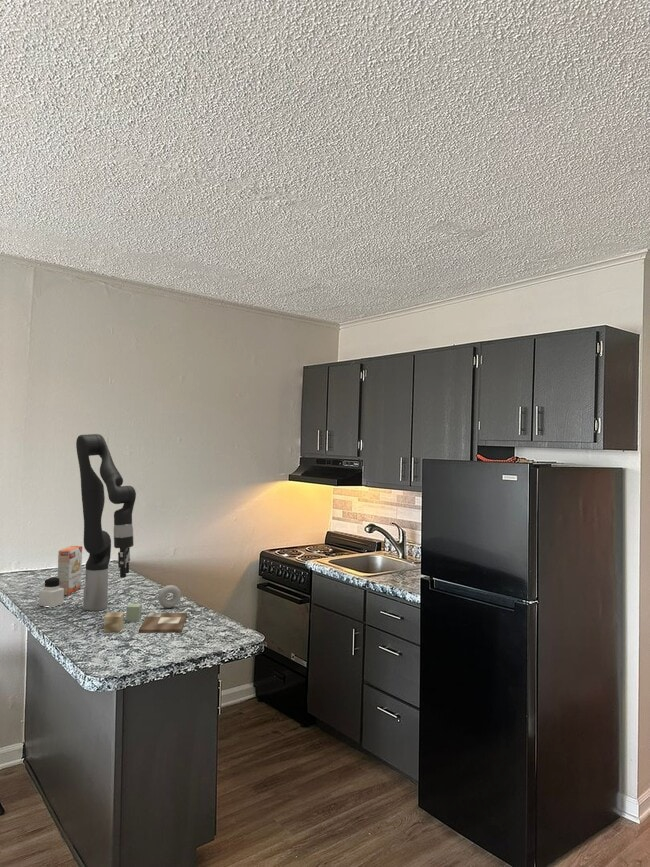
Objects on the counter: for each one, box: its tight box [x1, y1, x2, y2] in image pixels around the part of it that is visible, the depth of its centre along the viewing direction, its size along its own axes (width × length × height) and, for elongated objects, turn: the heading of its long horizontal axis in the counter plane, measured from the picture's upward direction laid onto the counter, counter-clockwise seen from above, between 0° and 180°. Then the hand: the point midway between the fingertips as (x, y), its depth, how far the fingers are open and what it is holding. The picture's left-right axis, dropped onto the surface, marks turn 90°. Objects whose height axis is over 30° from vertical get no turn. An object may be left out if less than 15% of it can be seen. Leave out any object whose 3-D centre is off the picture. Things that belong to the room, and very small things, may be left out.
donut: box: [157, 584, 182, 609], centre depth 269 cm, size 10×4×10 cm, turn 119°
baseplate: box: [138, 612, 188, 634], centre depth 246 cm, size 16×22×1 cm
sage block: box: [125, 603, 142, 623], centre depth 251 cm, size 5×5×6 cm
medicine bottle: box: [38, 576, 65, 607], centre depth 268 cm, size 7×7×12 cm
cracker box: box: [57, 545, 83, 596], centre depth 291 cm, size 14×6×21 cm, turn 179°
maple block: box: [103, 611, 125, 633], centre depth 237 cm, size 6×6×6 cm
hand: (124, 575), depth 249 cm, fingers open, 8 cm apart
